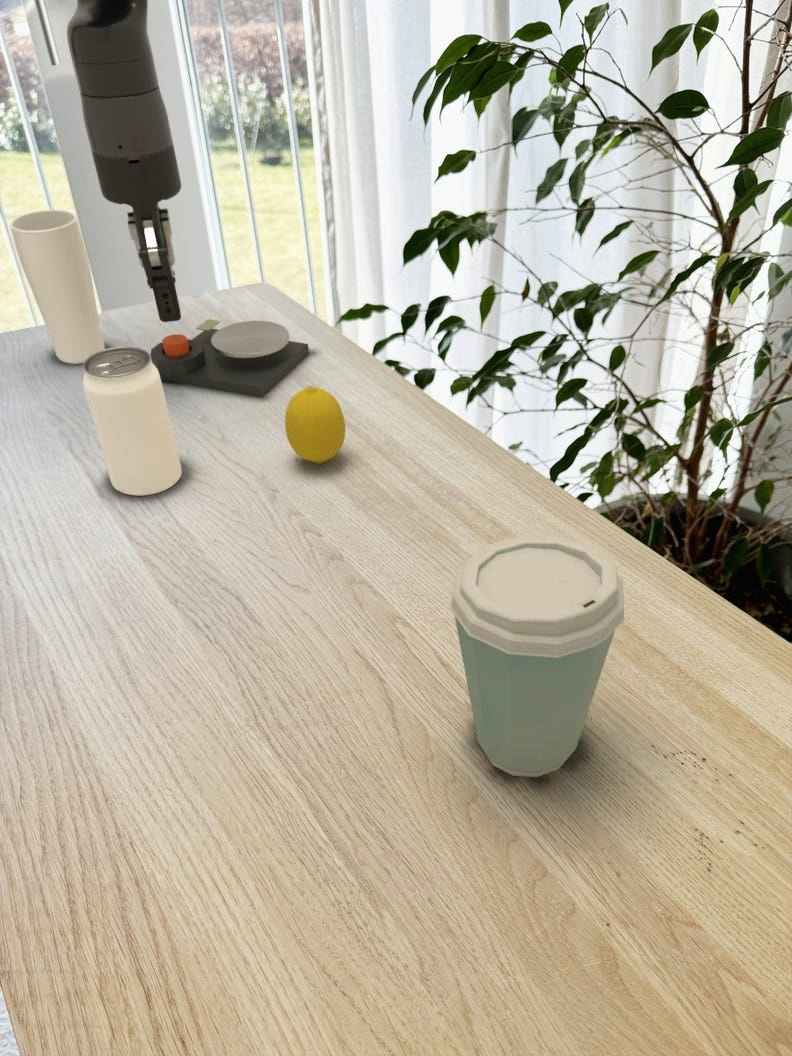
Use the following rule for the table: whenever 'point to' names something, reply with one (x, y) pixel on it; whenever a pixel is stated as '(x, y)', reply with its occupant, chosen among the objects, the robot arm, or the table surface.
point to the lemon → (315, 424)
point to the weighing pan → (247, 338)
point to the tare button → (175, 345)
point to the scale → (227, 367)
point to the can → (132, 420)
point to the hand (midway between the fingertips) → (170, 318)
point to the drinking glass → (60, 281)
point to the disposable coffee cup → (534, 645)
